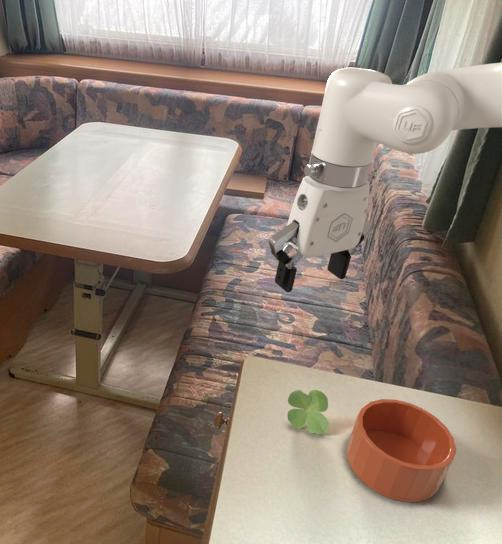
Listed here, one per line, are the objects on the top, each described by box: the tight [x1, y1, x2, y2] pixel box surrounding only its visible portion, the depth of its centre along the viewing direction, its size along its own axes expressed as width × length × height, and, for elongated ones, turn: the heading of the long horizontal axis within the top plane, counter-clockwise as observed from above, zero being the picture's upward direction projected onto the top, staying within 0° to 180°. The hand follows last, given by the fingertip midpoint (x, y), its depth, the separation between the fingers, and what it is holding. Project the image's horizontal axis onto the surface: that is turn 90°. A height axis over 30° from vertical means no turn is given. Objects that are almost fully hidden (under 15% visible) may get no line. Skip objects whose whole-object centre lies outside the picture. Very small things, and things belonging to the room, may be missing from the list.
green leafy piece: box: [287, 389, 330, 435], centre depth 95 cm, size 7×8×7 cm
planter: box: [346, 398, 457, 503], centre depth 86 cm, size 13×13×7 cm
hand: (309, 280), depth 84 cm, fingers open, 9 cm apart
